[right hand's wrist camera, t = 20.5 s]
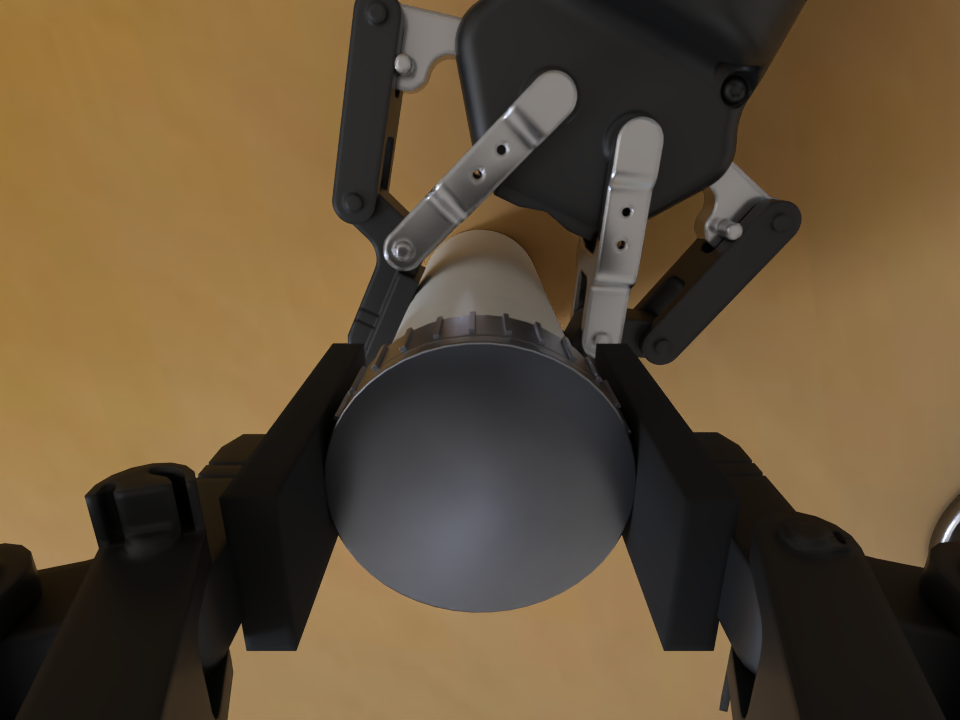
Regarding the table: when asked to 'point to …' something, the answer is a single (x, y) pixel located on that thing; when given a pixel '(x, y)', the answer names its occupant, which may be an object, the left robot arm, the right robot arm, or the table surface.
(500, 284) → the bottle
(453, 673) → the table surface
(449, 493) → the lid
